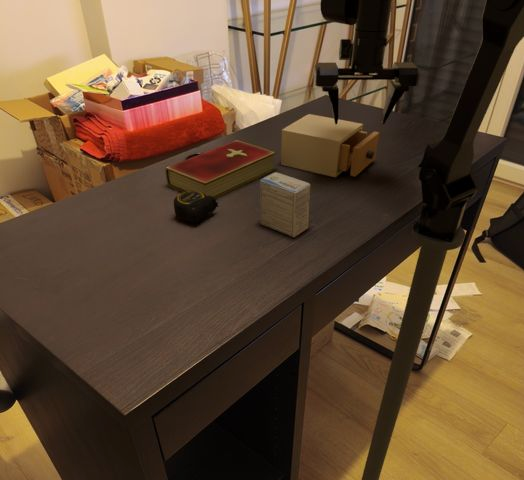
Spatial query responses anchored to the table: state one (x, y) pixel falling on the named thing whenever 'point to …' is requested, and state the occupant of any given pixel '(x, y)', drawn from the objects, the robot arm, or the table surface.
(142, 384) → the table surface
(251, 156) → the hardcover book
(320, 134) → the cabinet
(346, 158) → the drawer
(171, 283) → the table surface
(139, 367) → the table surface
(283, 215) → the medicine box
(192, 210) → the tape measure
